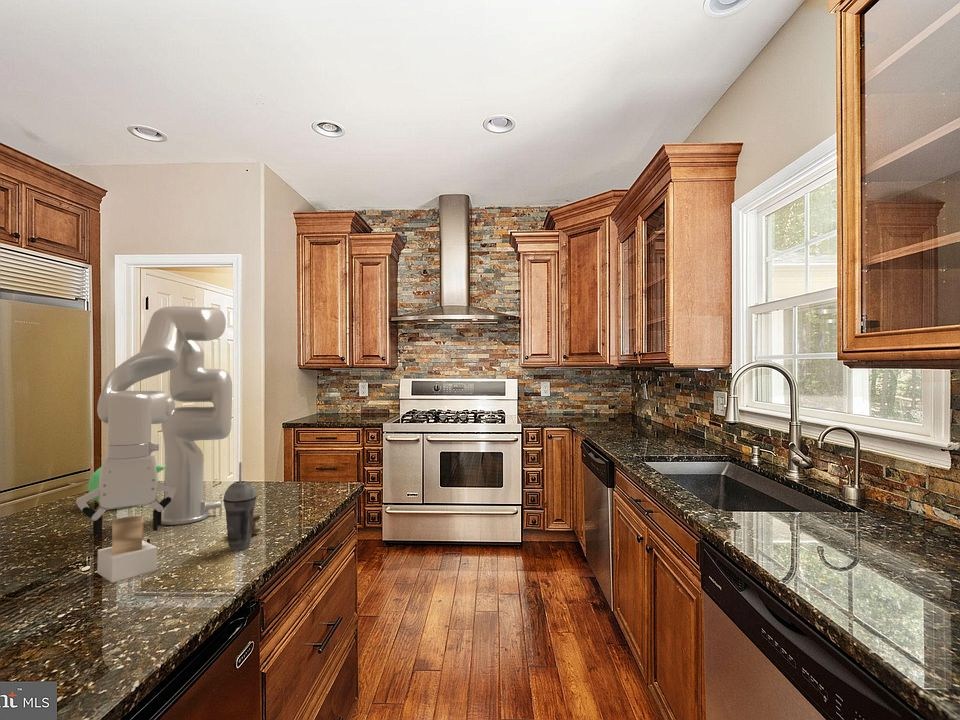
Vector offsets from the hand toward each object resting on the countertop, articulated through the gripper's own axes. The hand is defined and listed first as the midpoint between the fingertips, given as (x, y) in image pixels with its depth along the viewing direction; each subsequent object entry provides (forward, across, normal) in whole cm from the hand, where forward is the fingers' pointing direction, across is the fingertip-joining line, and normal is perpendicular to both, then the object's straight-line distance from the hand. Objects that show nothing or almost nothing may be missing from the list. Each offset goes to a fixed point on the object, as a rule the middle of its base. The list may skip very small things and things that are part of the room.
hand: (127, 533), depth 106 cm
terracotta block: (+8, -1, -18) cm, 20 cm away
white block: (+8, 0, 0) cm, 8 cm away
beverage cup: (+8, -22, -2) cm, 23 cm away
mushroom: (+8, -25, -11) cm, 28 cm away
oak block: (+3, 0, 0) cm, 3 cm away
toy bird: (+8, -1, -64) cm, 65 cm away
